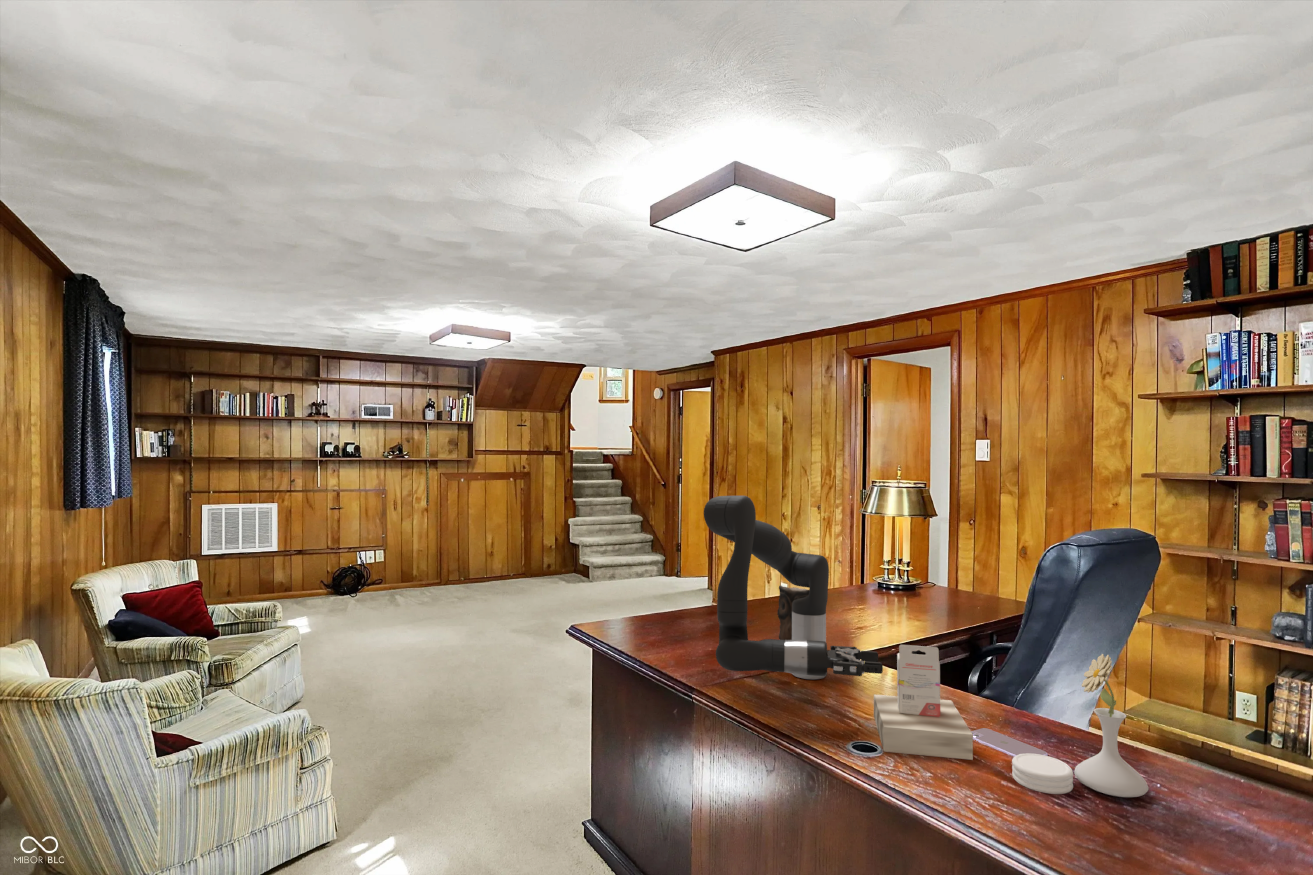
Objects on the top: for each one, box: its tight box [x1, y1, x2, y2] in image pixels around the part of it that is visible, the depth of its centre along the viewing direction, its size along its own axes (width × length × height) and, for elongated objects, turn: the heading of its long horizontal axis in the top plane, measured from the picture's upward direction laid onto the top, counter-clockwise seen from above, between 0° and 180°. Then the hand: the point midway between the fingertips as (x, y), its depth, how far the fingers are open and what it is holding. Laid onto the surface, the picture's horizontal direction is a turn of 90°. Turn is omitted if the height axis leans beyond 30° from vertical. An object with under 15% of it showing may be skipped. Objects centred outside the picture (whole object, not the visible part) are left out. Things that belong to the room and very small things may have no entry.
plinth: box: [873, 694, 974, 761], centre depth 150 cm, size 20×17×5 cm
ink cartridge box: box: [896, 644, 941, 717], centre depth 151 cm, size 9×5×15 cm, turn 74°
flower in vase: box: [1073, 653, 1149, 798], centre depth 127 cm, size 13×11×25 cm
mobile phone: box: [970, 727, 1049, 758], centre depth 146 cm, size 8×1×15 cm
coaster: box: [1011, 753, 1074, 795], centre depth 130 cm, size 10×10×4 cm
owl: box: [776, 584, 809, 640], centre depth 215 cm, size 13×13×20 cm
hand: (880, 662), depth 153 cm, fingers open, 8 cm apart
